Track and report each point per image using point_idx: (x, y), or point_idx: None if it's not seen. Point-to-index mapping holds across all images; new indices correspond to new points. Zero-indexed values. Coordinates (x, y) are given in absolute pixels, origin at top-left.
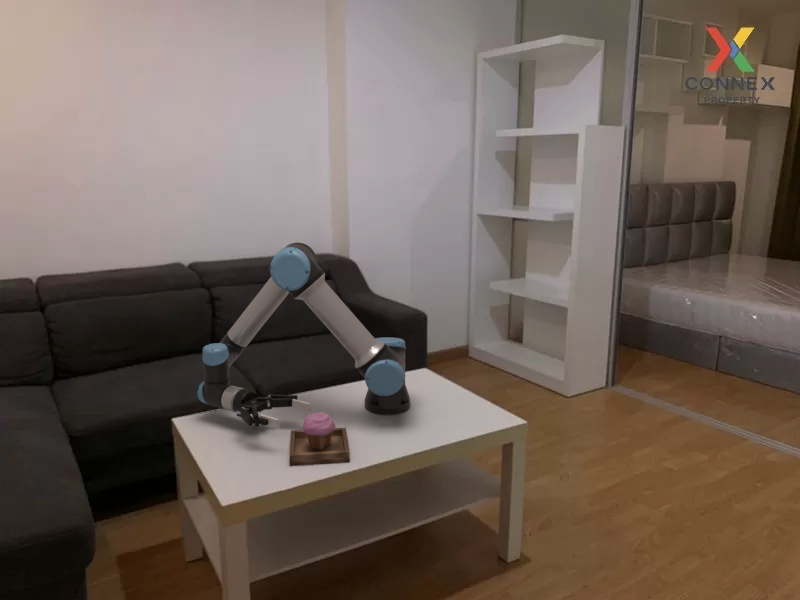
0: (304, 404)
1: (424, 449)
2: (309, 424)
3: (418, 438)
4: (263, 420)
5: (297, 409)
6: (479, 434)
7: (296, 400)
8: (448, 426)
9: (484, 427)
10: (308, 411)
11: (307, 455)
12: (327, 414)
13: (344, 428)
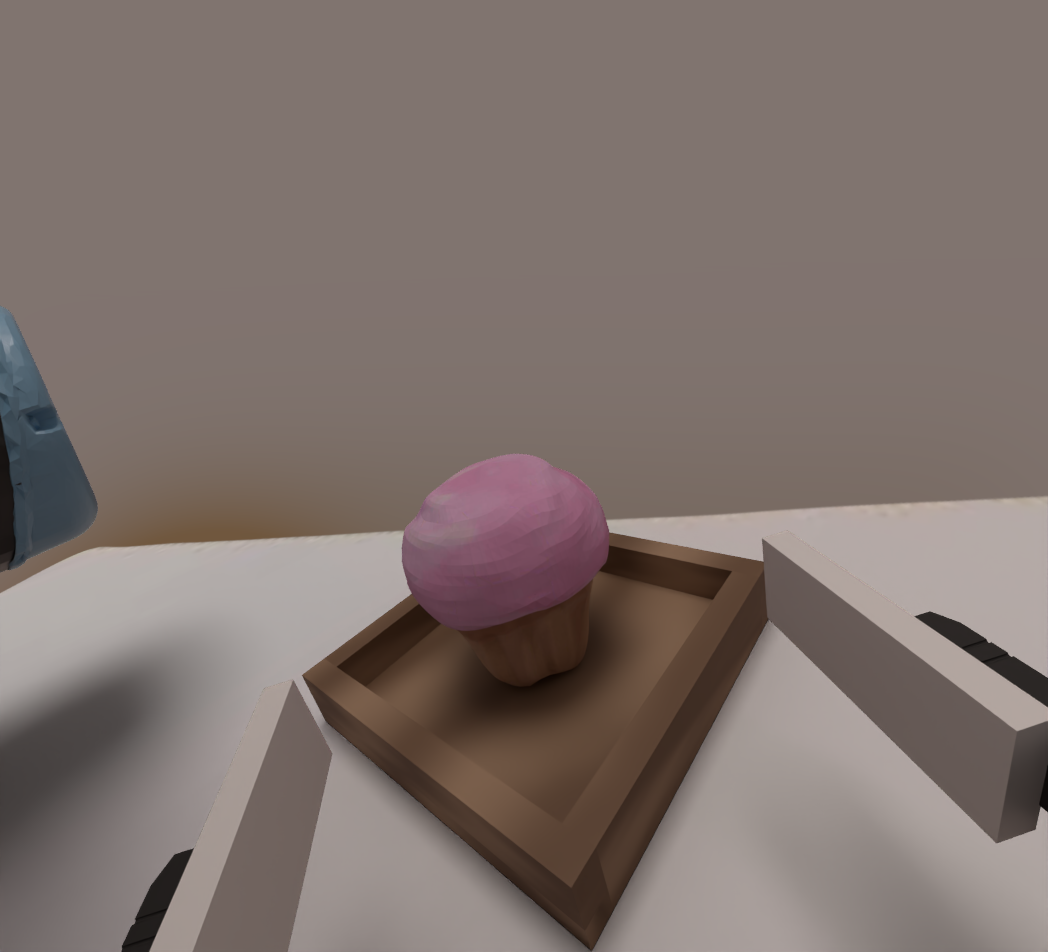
0: (281, 748)
1: (321, 537)
2: (580, 484)
3: (245, 582)
4: (967, 627)
5: (287, 949)
6: (178, 544)
7: (201, 896)
8: (119, 600)
9: (123, 562)
10: (325, 753)
11: (673, 548)
12: (430, 493)
13: (317, 670)
